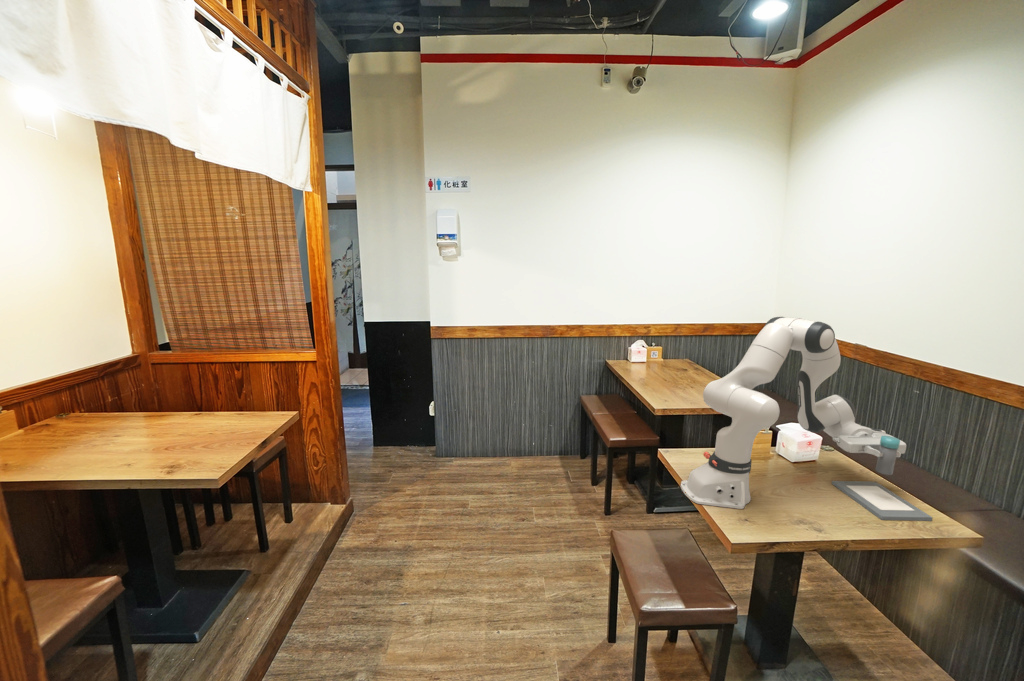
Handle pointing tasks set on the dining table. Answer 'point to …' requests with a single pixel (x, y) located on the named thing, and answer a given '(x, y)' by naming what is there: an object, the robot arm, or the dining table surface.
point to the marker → (887, 455)
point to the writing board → (881, 501)
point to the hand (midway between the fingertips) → (889, 455)
